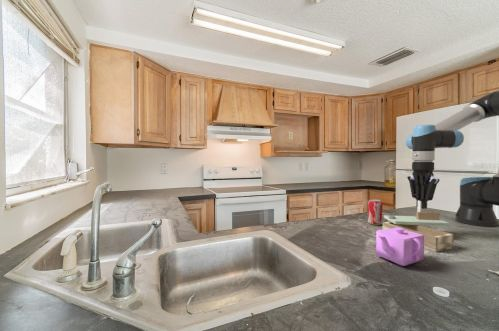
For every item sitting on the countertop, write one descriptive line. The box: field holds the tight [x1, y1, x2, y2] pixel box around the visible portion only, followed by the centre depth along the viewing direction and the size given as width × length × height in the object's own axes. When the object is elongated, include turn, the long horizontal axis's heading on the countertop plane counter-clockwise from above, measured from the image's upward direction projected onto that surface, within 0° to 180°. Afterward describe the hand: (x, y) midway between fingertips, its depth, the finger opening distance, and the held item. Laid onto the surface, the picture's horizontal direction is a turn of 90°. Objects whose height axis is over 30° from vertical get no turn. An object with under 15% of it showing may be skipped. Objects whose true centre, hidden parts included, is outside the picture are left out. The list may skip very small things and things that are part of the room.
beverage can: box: [367, 198, 383, 226], centre depth 109 cm, size 6×6×12 cm
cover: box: [383, 211, 451, 227], centre depth 94 cm, size 20×10×4 cm, turn 82°
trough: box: [381, 221, 455, 253], centre depth 86 cm, size 10×20×5 cm, turn 20°
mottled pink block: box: [375, 228, 425, 267], centre depth 70 cm, size 18×14×10 cm
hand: (421, 215), depth 95 cm, fingers closed
